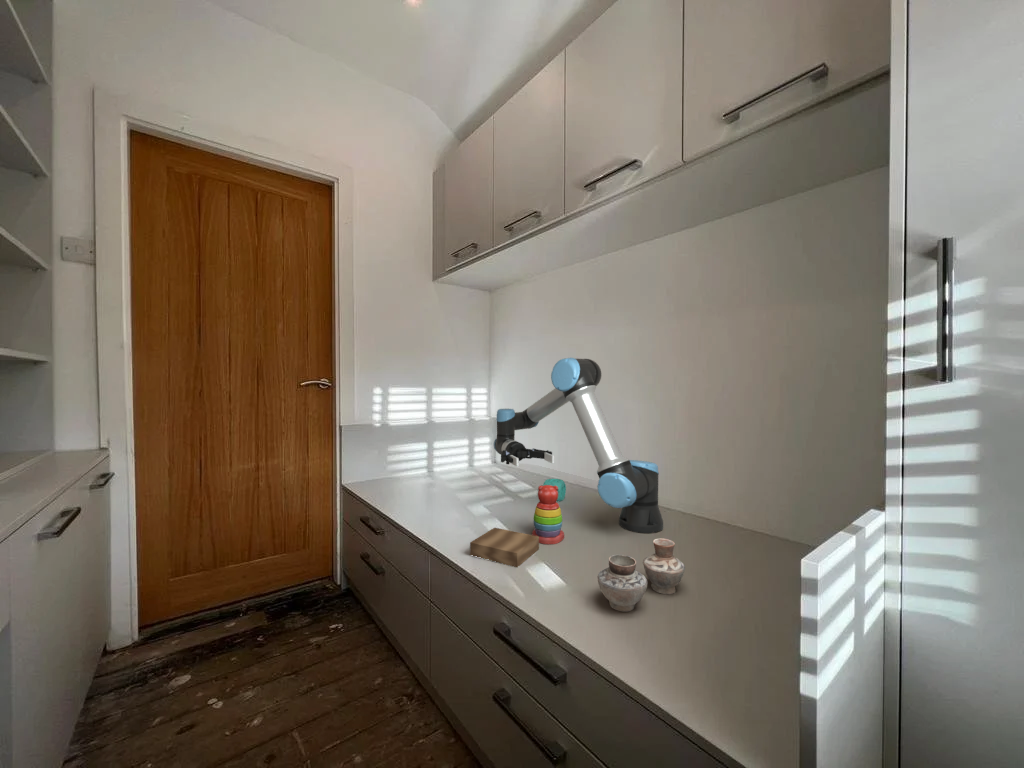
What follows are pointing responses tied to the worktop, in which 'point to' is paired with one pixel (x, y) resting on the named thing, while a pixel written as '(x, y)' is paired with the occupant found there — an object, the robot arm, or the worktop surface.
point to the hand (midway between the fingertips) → (535, 461)
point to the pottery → (640, 576)
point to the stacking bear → (548, 516)
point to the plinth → (505, 546)
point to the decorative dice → (560, 485)
